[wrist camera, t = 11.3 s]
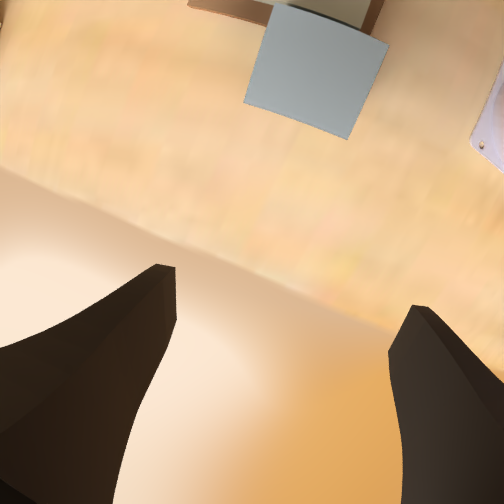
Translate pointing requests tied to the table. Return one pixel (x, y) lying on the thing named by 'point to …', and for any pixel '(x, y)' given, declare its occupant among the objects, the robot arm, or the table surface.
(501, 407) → the robot arm
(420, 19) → the table surface
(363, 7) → the tower top
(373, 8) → the tower base
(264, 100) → the cube
